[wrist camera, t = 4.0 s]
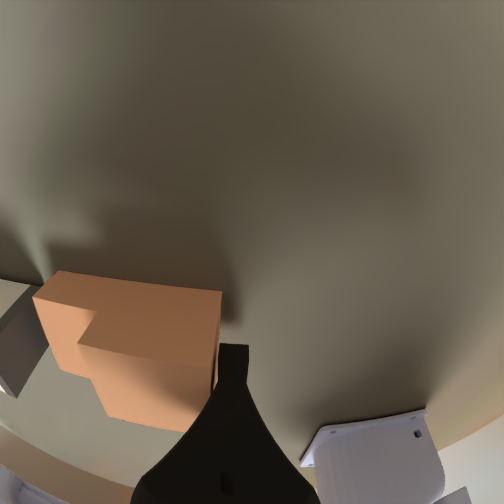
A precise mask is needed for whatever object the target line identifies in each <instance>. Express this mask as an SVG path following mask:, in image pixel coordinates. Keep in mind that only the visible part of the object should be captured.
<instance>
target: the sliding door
mask: <svg viewBox="0 0 504 504" xmlns="http://www.w3.org/2000/svg"><path fill="white" fill-rule="evenodd" d="M40 288H41V287H39V286H33V285H28V284H22V283H17V282H12V281H7V280H2V279H0V390H1V391H3V392H5V393H7V394H9V395H11V396H13V397H15V398H17V397H18V396H19V394H20V392H21V390H22V389H23V387H24V385H25V383H26V382H27V380H28V378H29V376H30V375H31V373H32V371H33V370H34V368H35V367H36V365H37V363H38V362H39V360H40V359H41V357H42V355H43V354H44V352H45V351H46V349H47V348H48V346H49V342H48V340H47V337H46V335H45V332H44V330H43V327H42V324H41V322H40V319H39V316H38V313H37V310H36V307H35V304H34V301H33V298H32V296H33V295H34V294H35V293H36V292H37V291H38V290H39V289H40Z"/></svg>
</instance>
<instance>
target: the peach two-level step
mask: <svg viewBox="0 0 504 504" xmlns="http://www.w3.org/2000/svg"><path fill="white" fill-rule="evenodd" d="M32 298H33V301H34V304H35V307H36V310H37V313H38V316H39V319H40V322H41V324H42V327H43V330H44V332H45V335H46V337H47V340H48V342H49V345H50V347H51V350H52V352H53V354H54V356H55V359H56V361H57V363H58V365H59V367H60V369H61V370H64V371H67V372H70V373H73V374H76V375H79V376H82V377H86V378H89V379H91V380H92V383H93V385H94V387H95V390H96V392H97V394H98V396H99V398H100V400H101V403H102V405H103V407H104V409H105V411H106V413H107V415H108V416H110V417H114V418H118V419H122V420H126V421H130V422H134V423H138V424H143V425H147V426H152V427H157V428H162V429H168V430H174V431H180V432H186V431H187V430H188V429H189V428H190V426H191V425H192V424H193V422H194V421H195V419H196V418H197V417H198V415H199V414H200V412H201V411H202V409H203V407H204V406H205V404H206V402H207V401H208V399H209V397H210V395H211V394H212V392H213V390H214V388H215V386H216V377H217V368H218V352H219V334H220V316H221V300H222V291H213V290H203V289H194V288H185V287H176V286H167V285H158V284H150V283H142V282H135V281H127V280H120V279H112V278H105V277H98V276H92V275H85V274H79V273H72V272H66V271H60V270H58V271H57V272H56V273H55V274H54V275H53V276H52V277H51V278H50V279H49V280H48V281H47V282H46V283H45V284H44V285H43V286H42V287H41V288H40V289H39V290H38V291H37V292H36V293H35V294H34V295H33V296H32Z"/></svg>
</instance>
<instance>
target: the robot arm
mask: <svg viewBox="0 0 504 504" xmlns="http://www.w3.org/2000/svg"><path fill="white" fill-rule="evenodd" d="M248 365H249V345H242V344H226V343H220V345H219V352H218V382H217V384H216V386H215V388H214V390H213V392H212V394H211V395H210V397H209V399H208V401H207V402H206V404H205V406H204V407H203V409H202V411H201V412H200V414H199V415H198V417H197V418H196V419H195V421H194V422H193V424H192V425H191V426H190V428H189V429H188V430H187V431H186V433H185V434H184V435H183V437H182V438H181V439H180V440H179V441H178V442H177V444H176V445H175V446H174V447H173V448H172V449H171V450H170V451H169V452H168V453H167V454H166V455H165V456H164V457H163V458H162V459H161V460H160V461H159V462H158V463H157V464H156V465H155V466H154V467H153V468H151V469H150V470H149V471H148V472H147V473H146V474H145V475H143V476H142V477H141V479H140V481H139V482H138V484H137V486H136V488H135V490H134V492H133V494H132V497H131V502H130V504H472V503H471V500H470V497H469V494H468V491H467V488H466V487H463V488H461V489H459V490H457V491H455V492H453V493H451V494H449V495H447V496H445V497H443V498H441V496H442V494H443V491H444V486H445V474H444V470H443V466H442V464H441V461H440V458H439V456H438V453H437V450H436V447H435V445H434V442H433V440H432V437H431V435H430V432H429V430H428V427H427V425H426V423H425V420H424V417H425V416H426V415H427V414H428V411H427V409H422V410H418V411H414V412H410V413H405V414H401V415H396V416H391V417H386V418H380V419H374V420H368V421H362V422H355V423H347V424H338V425H328V426H324V427H322V428H320V429H319V431H318V433H317V435H316V436H315V438H314V440H313V442H312V443H311V445H310V447H309V448H308V450H307V452H306V453H305V455H304V457H303V458H302V460H301V461H300V466H301V467H311V466H314V468H315V475H316V482H317V490H318V496H317V493H316V491H315V489H314V488H313V486H312V485H311V484H310V483H309V482H308V481H307V480H306V479H305V478H304V477H303V476H302V475H301V474H300V473H299V472H298V470H297V469H296V468H295V467H294V466H293V464H292V463H291V462H290V461H289V460H288V458H287V457H286V456H285V454H284V453H283V451H282V450H281V449H280V447H279V446H278V444H277V443H276V441H275V440H274V439H273V437H272V435H271V434H270V432H269V430H268V429H267V427H266V425H265V423H264V422H263V420H262V418H261V416H260V414H259V412H258V410H257V408H256V406H255V404H254V401H253V399H252V397H251V394H250V392H249V389H248V386H247V374H248ZM318 497H319V498H318ZM440 498H441V499H440ZM0 504H69V503H67V502H65V501H63V500H60V499H58V498H56V497H54V496H52V495H50V494H48V493H46V492H44V491H42V490H41V489H39V488H37V487H35V486H33V485H31V484H29V483H28V482H26V481H24V480H23V479H22V478H21V477H19V476H18V475H17V474H15V473H14V472H12V471H11V470H9V469H8V468H6V467H5V466H3V465H1V464H0Z"/></svg>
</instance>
